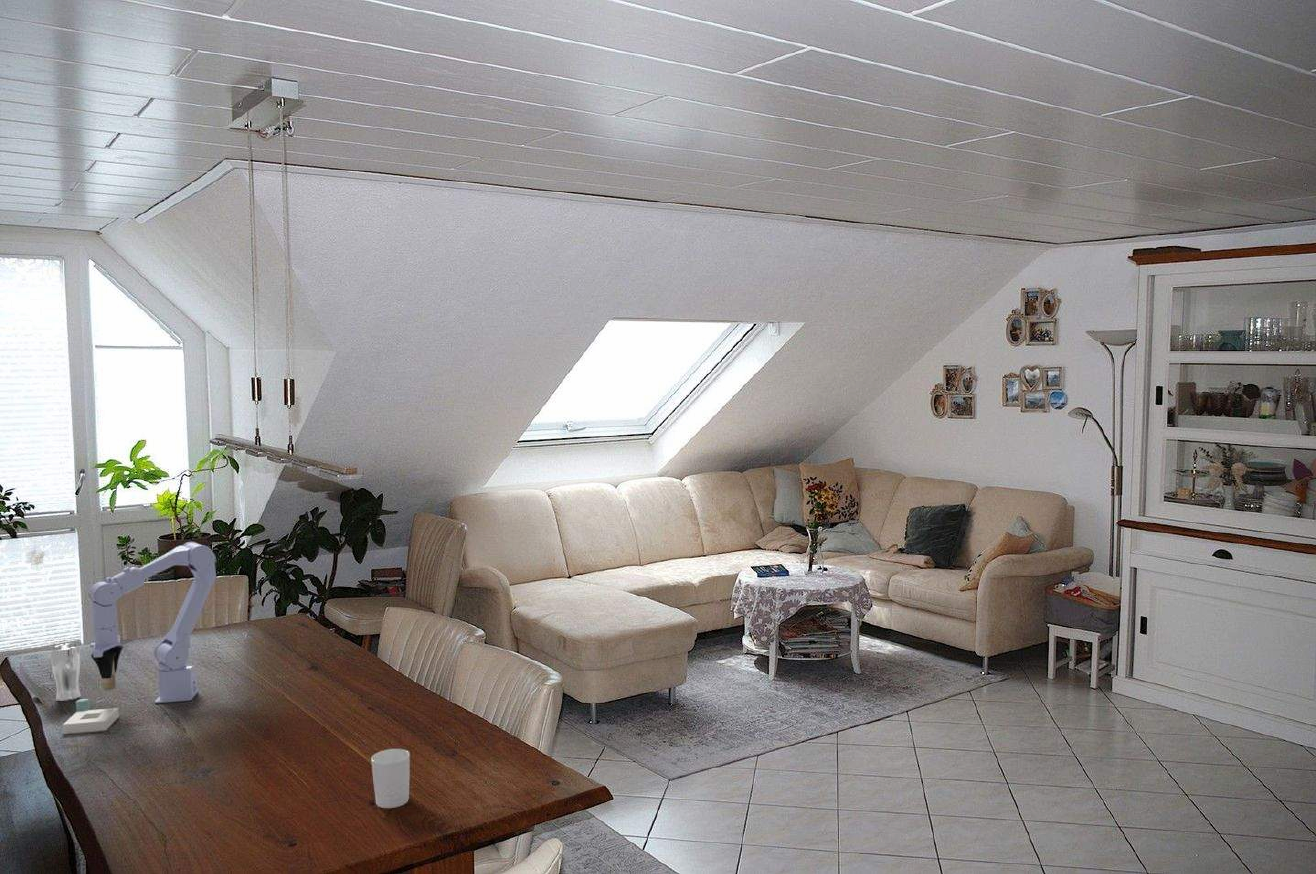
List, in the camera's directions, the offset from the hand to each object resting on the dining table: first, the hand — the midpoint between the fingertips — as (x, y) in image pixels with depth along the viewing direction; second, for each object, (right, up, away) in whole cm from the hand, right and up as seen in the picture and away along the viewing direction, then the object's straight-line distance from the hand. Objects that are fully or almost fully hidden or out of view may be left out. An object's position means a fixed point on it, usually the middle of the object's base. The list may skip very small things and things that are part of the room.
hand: (108, 676), depth 269 cm
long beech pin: (0, -3, 0) cm, 3 cm away
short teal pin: (-6, -11, -2) cm, 12 cm away
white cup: (+92, -13, -58) cm, 109 cm away
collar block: (0, -11, -8) cm, 14 cm away
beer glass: (-19, -10, +14) cm, 26 cm away
